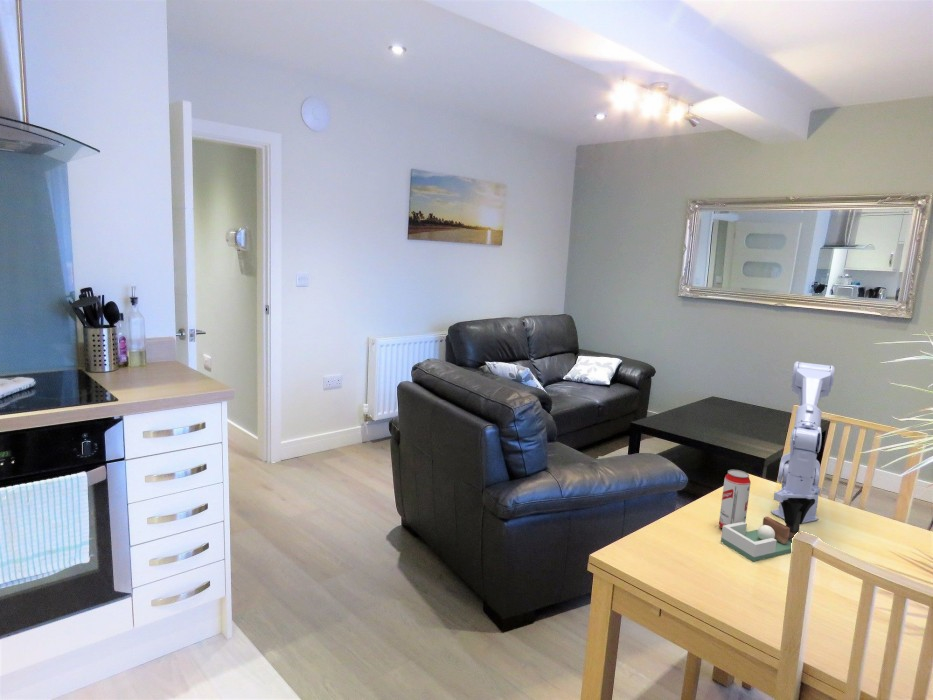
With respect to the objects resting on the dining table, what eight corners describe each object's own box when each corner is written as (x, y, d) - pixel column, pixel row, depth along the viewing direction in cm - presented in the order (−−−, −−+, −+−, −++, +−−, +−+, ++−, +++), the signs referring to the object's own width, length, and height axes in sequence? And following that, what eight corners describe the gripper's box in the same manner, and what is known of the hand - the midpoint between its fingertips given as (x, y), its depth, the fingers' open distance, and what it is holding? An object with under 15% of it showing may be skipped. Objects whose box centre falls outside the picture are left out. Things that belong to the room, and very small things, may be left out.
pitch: (779, 528, 155) (781, 513, 154) (813, 547, 146) (816, 531, 145) (720, 541, 147) (722, 525, 146) (753, 561, 138) (755, 544, 137)
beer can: (738, 525, 156) (746, 469, 153) (747, 536, 150) (755, 478, 147) (715, 523, 157) (722, 467, 154) (722, 534, 150) (730, 477, 148)
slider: (783, 527, 152) (787, 504, 151) (805, 538, 147) (809, 515, 145) (761, 531, 149) (764, 508, 148) (783, 543, 144) (786, 520, 142)
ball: (764, 535, 148) (766, 521, 147) (777, 543, 145) (779, 528, 144) (752, 538, 147) (754, 523, 146) (766, 545, 143) (768, 530, 142)
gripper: (794, 483, 140) (786, 535, 142) (834, 476, 145) (826, 526, 148) (769, 472, 146) (762, 522, 149) (809, 466, 152) (801, 514, 154)
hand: (793, 523), depth 149 cm, fingers closed on slider, 2 cm apart
